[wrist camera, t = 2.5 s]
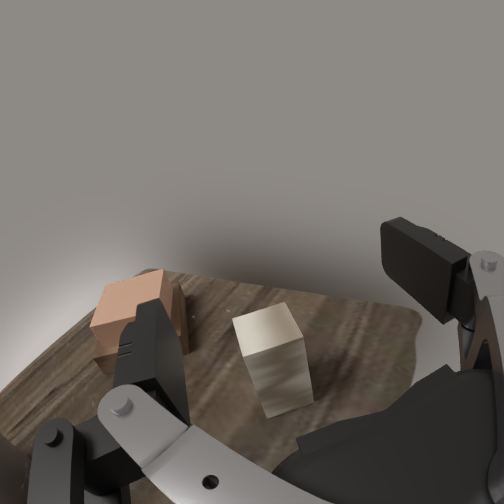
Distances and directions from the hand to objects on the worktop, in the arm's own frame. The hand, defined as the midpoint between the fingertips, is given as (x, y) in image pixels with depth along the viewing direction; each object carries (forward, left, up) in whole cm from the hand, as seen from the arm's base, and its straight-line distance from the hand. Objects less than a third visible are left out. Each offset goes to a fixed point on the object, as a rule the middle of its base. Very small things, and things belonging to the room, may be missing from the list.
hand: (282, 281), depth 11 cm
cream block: (0, +12, -22) cm, 25 cm away
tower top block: (-16, +28, -19) cm, 38 cm away
